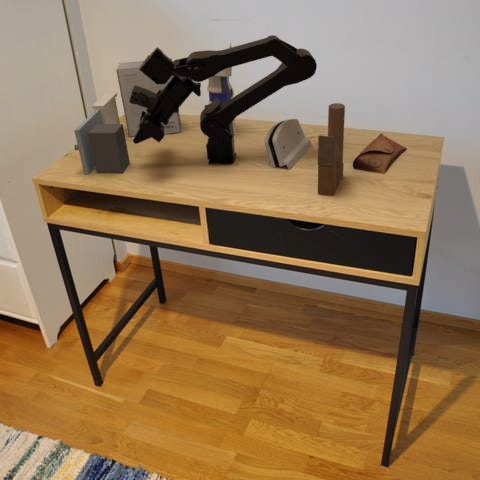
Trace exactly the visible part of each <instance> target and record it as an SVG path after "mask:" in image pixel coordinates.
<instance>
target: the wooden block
mask: <svg viewBox="0 0 480 480" xmlns="http://www.w3.org/2000/svg"><path fill="white" fill-rule="evenodd" d="M327 113H328V116H327V117H328V119H327V120H328V121H327V135H318V138H317V139H318V141H317V143H318V145H317V147H318V148H317V165H318V166H317V194H318V195H322V196H330V197H331V196H334V194H335V191H336V190H337V186H339V184H340V182H341V181H342V178H343V176H344V162H343V160H344V159H343V158H344V136H345V135H344V134H345V113H346V106H345V104H343V103H340V102H336V103H335V102H334V103H331V104H329V105H328V111H327Z"/></svg>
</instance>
